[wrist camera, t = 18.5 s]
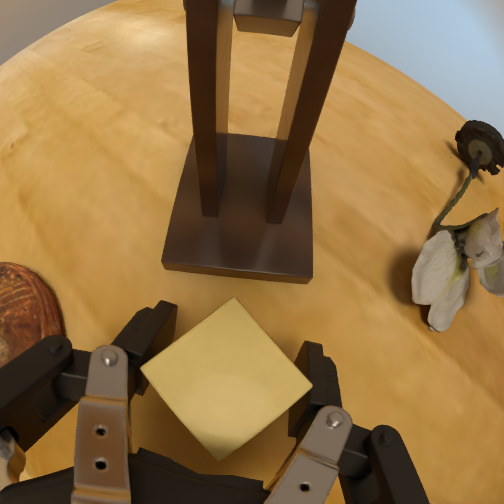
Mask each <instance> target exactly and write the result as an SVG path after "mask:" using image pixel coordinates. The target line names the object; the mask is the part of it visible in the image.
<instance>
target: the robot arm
mask: <svg viewBox="0 0 504 504" xmlns="http://www.w3.org/2000/svg"><path fill="white" fill-rule="evenodd" d="M177 310H178V306H177V305H175V304H172V303H169V302H166V301H163V300H160V301H159V303H158V304H157V305H156V307H155V308H154V309H151V308H148V307H146V308H144V309H142V310H140V311H138V312H137V313H136V314H135V315H134V316H133V318H132V320H130V321H129V322H128V324H127V325H126V326H125V327H124V328H123V330H122V331H121V332H120V333H119V335H118V336H117V337H116V338H115V339H114V341H113V342H112V343H111V344H110V345H102V346H99V347H97V348H96V349H95V350H94V351H93V352H87V351H82V350H76V349H73V348H72V344H71V342H70V340H69V339H68V338H66V337H64V336H62V335H49V336H47V337H45V338H43V339H42V340H40V341H39V342H37V343H36V344H34V345H33V346H31V347H30V348H28V349H27V350H25V351H24V352H23V353H21V354H20V355H18V356H17V357H15V358H14V359H12V360H11V361H10V362H8V363H7V364H5V365H4V366H2V367H1V368H0V504H324V502H325V500H326V498H327V496H328V494H329V492H330V490H331V488H332V486H333V483H334V481H335V479H336V477H337V475H338V477H339V481H340V484H341V488H342V492H343V495H344V499H345V503H346V504H430V503H429V500H428V498H427V495H426V493H425V491H424V488H423V486H422V483H421V481H420V479H419V476H418V474H417V472H416V469H415V467H414V465H413V462H412V460H411V458H410V456H409V453H408V451H407V449H406V447H405V444H404V442H403V440H402V438H401V436H400V434H399V433H398V431H397V430H395V429H394V428H392V427H390V426H388V425H379V426H376V427H375V428H374V429H373V430H372V431H371V430H368V429H365V428H362V427H360V426H357V425H355V424H353V422H352V418H351V416H350V415H349V414H348V413H347V412H346V411H345V410H344V409H342V402H341V395H340V389H339V384H338V377H337V370H336V366H335V364H334V363H333V361H332V360H331V358H330V357H326V356H324V355H323V347H322V344H319V343H314V342H310V341H306V340H305V341H304V343H303V344H302V347H301V349H300V351H299V353H298V356H297V358H296V360H295V362H294V365H295V366H296V367H297V368H298V369H299V370H300V371H301V373H302V374H303V375H304V376H305V377H306V378H307V379H308V380H309V381H310V382H311V383H312V385H313V386H312V388H311V389H310V390H309V391H308V392H307V393H305V394H304V395H303V396H302V397H301V398H300V399H299V400H298V401H297V402H295V403H294V404H293V405H292V406H291V407H290V408H289V420H288V437H295V438H296V444H295V446H294V447H293V448H292V450H291V451H290V453H289V455H288V456H287V458H286V459H285V461H284V462H283V464H282V466H281V467H280V469H279V470H278V472H277V473H276V475H275V476H274V477H273V479H272V480H271V482H270V483H269V484H268V485H267V487H266V488H265V489H263V481H261V480H255V479H249V478H244V477H239V476H234V475H203V474H198V473H195V472H194V471H192V470H190V469H188V468H186V467H184V466H182V465H181V464H179V463H177V462H175V461H174V460H172V459H170V458H168V457H165V456H162V455H159V454H157V453H154V452H151V451H148V450H146V449H143V448H141V447H140V448H139V450H138V452H137V454H135V453H133V446H132V430H131V399H132V398H133V396H134V394H135V393H136V394H138V395H141V396H143V395H144V393H145V391H146V389H147V387H148V385H149V384H150V382H149V381H148V379H147V378H146V377H145V375H144V374H143V373H142V371H141V369H140V368H141V366H143V365H144V364H145V363H147V362H148V361H149V360H151V359H152V358H153V357H155V356H156V355H157V354H159V353H160V352H161V351H163V350H164V349H165V348H167V347H168V346H169V345H171V343H172V341H173V338H174V333H175V325H176V317H177ZM78 402H79V410H78V418H77V428H76V440H75V456H74V466H73V467H70V468H67V469H64V470H61V471H57V472H54V473H51V474H48V475H44V476H40V477H37V478H33V479H29V480H25V481H21V482H19V477H20V474H21V473H22V472H23V471H24V467H25V464H26V456H25V452H26V451H27V450H28V449H29V448H30V447H32V446H33V445H34V444H35V443H36V442H37V441H38V440H39V439H40V438H41V437H42V436H43V435H44V434H45V433H46V432H47V431H48V430H49V429H51V428H52V427H53V426H54V425H55V424H56V423H57V422H58V421H59V420H60V419H61V418H62V417H63V416H64V415H65V414H66V413H68V412H69V411H70V410H71V409H72V408H73V407H74V406H75V405H76V404H77V403H78Z"/></svg>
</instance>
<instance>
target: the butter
mask: <svg viewBox="0 0 504 504" xmlns="http://www.w3.org/2000/svg"><path fill="white" fill-rule="evenodd" d="M140 369H141V371H142V373H143V374H144V375H145V377H146V378H147V379H148V381H149V382H150V383H151V385H152V386H153V387H154V389H155V390H156V391H157V393H158V394H159V395H160V396H161V398H162V399H163V400H164V401H165V403H166V404H167V405H168V406H169V408H170V409H171V410H172V411H173V412H174V414H175V415H176V416H177V417H178V418H179V420H180V421H181V422H182V423H183V424H184V425H185V426H186V428H187V429H188V430H189V431H190V432H191V433H192V434H193V435H194V437H195V438H196V439H197V440H198V441H199V442H200V443H201V444H202V445H203V446H204V447H205V448H206V449H207V450H208V451H209V452H210V453H211V455H212V456H213V457H214V458H215V459H216V460H218V461H222V460H223V459H224V458H226V457H227V456H229V455H230V454H231V453H233V452H234V451H236V450H237V449H238V448H240V447H241V446H242V445H244V444H245V443H246V442H248V441H249V440H250V439H252V438H253V437H254V436H256V435H257V434H258V433H260V432H261V431H262V430H263V429H265V428H266V427H267V426H268V425H270V424H271V423H272V422H273V421H274V420H276V419H277V418H278V417H279V416H280V415H282V414H283V413H284V412H285V411H286V410H287V409H289V408H290V407H291V406H292V405H293V404H294V403H295V402H297V401H298V400H299V399H300V398H301V397H302V396H303V395H304V394H305V393H307V392H308V391H309V390H310V389H311V388H312V386H313V385H312V383H311V382H310V381H309V380H308V379H307V378H306V377H305V376H304V375H303V374H302V373H301V371H300V370H299V369H298V368H297V367H296V366H295V365H294V364H293V363H292V361H291V360H290V359H289V358H288V357H287V356H286V355H285V354H284V353H283V351H282V350H281V349H280V348H279V347H278V346H277V345H276V344H275V342H274V341H273V340H272V339H271V338H270V337H269V336H268V334H267V333H266V332H265V331H264V330H263V329H262V328H261V326H260V325H259V324H258V323H257V322H256V321H255V320H254V318H253V317H252V316H251V315H250V314H249V313H248V311H247V310H246V309H245V308H244V307H243V306H242V304H241V303H240V302H239V301H238V300H237V298H235V297H233V298H231V299H230V300H229V301H227V302H226V303H225V304H223V305H222V306H221V307H219V308H218V309H217V310H216V311H214V312H213V313H212V314H210V315H209V316H208V317H206V318H205V319H204V320H203V321H201V322H200V323H199V324H197V325H196V326H195V327H193V328H192V329H191V330H189V331H188V332H187V333H185V334H184V335H183V336H181V337H180V338H179V339H177V340H176V341H175V342H173V343H172V344H171V345H169V346H168V347H167V348H165V349H164V350H163V351H161V352H160V353H159V354H157V355H156V356H155V357H153V358H152V359H151V360H149V361H148V362H147V363H145V364H144V365H143V366H141V368H140Z"/></svg>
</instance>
